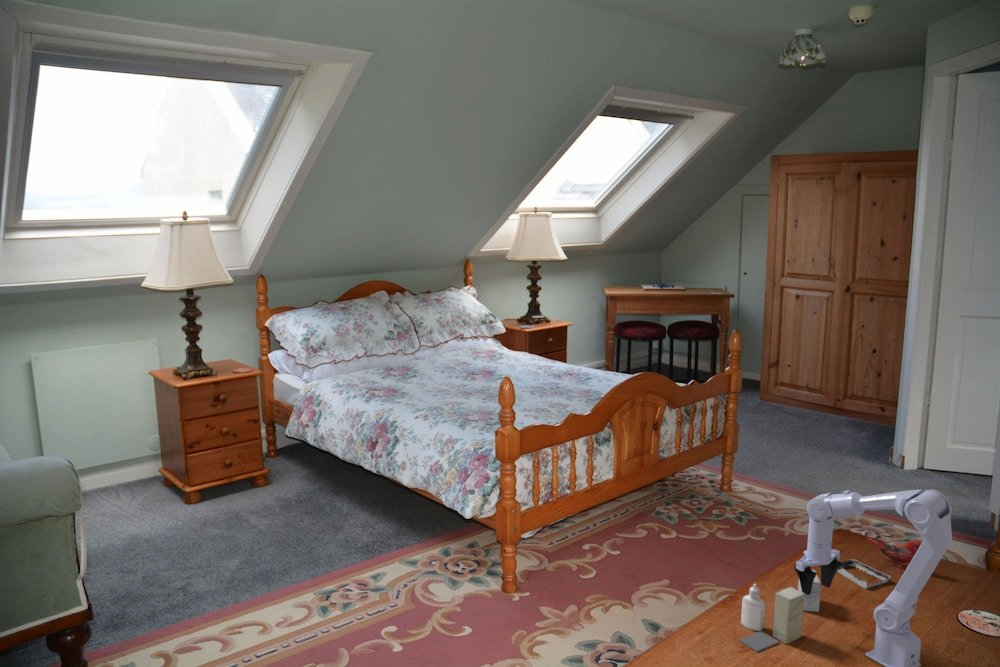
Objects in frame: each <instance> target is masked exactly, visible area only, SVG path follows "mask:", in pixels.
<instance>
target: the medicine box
mask: <svg viewBox="0 0 1000 667" xmlns="http://www.w3.org/2000/svg"><path fill="white" fill-rule="evenodd" d="M812 571H813V572H815V573H817V571H816V570H815V569H812ZM797 582H798V583H797V590H798V591H800V592H802V589H801V584H800V580H799V578H798V581H797ZM821 588H822V584H821V579H819V576H818V574H817V575H816V576H815V578H814V581H813V584H812V590H811V594H810V595H807V594H805V593H804V605H803V612H804V611H805V612H813V613H814V612H816V613H819V612H820V602H821V601H820V600H821ZM802 593H803V592H802Z"/></svg>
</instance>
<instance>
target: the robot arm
mask: <svg viewBox="0 0 1000 667" xmlns="http://www.w3.org/2000/svg"><path fill="white" fill-rule="evenodd" d="M921 491H922V492H921ZM920 492H921V493H920ZM805 507H806V508H805V509H806V513H807V515H808V516H809V518H808V519H809V520H808V530H807V532H808V533H807V545H806V550H803V556H802V557H801V558H800V559H799V560H796V562H795V564H794V565H793V566H794V571H795V572H796V574H797V577H798V579H799V580H800V584H801V589H802V592H803V593H805V594H807V595H810V594H811V590H812V584H813V581H814V578H815V576H816V575H817V576H818V573H817V572H816V573H815V572H813V571H812V570H813V569H812V567H814V566H815V567H816V566H820V583H821V586H824V587H825V588H828V589H829V588H830V587H831V585H832V583H833V580H834V577H835V576H836V573H838V572H837V570H838V569H839V568H840V567H841V562H842V561H840V560H839V559H841V558H840V556H841V551H839V550H837V549H835V548H833V549H832V544H833V535H834V534H833V533H834V519H835V518H838V519H839V518H848V517H851V518H852V517H860V516H862V515H863V514H864V512H865V511H883V510H886V511H887V510H895V511H896V513H897V514H899V516H901V517H906V519H907V520H908V521H909V522H910V523H911V525H913V527H914V528H915V529H916V530H917V531H918V533H919V534H920V535H921V536H922V538H923V540H922V542H921V545H920V547H919V549H918V550H917V552H916V554H915V555H914V557H913V559H912V561H911V562H910V563H909V564H908V565H907V567H906V568H907V569H905V571H904V573H903V574H902V576H901V577H900V579H899V581H898V582H897V584H896V586H895V587H894V589H893V590H892V592H891V593H890V594H889V595H888V596H887V598H886V599H885V601H884V602H882V603H881V604H879V605H878V606H876V607H875V609H874V610H873V620H874V621H875V623H876V626H875V634H874V643H873V644H874V645H873V649H872V650H870V651H867V652H865V656H866V657H868V658H869V659H872V660H873V661H875V662H877V663H878V664H880V665H881V666H884V667H921V665H922V664H921V663H920V658H921V649H922V641H921V638H920V637H919V636H918V635H916V634H915V633H914V632H913V631H912V630H911V624H910V619H912V618H914V616H915V614H916V604H917V602H918V599H919V595H920V594H921V592H922V590H923V589H924V588H925V586H926V584H927V582H928V581H929V579H930V577H931V576H932V575H933V573H934V571H935V570H936V568H937V566H938V564H939V563H940V561H941V559H942V558H943V556H944V554H946V551H947V550H948V548H949V547H950V546H951V543H952V540H953V534H952V520H951V517H952V511H953V509H952V506H951V505H950V502H949V501H948V499H947V497H946V496H945V494H943V493H942V491H941V492H940V491H939V490H937V489H932V488H931V489H926V490H922V489H911V490H901V491H896V492H895V491H893V492H887V493H886V492H885V493H880V494H873V495H865V496H863V495H861V494H860V493H859V492H856V491H855V492H852V491H851V489H849V490H844V491H843V492H842V493H835V494H832V492H827V493H821V494H819V495H817V496H815V497H814V498H812V499H810V500H809V501H808V502H807V504H806V506H805Z"/></svg>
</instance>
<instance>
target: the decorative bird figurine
mask: <svg viewBox="0 0 1000 667" xmlns="http://www.w3.org/2000/svg"><path fill="white" fill-rule="evenodd" d="M864 538H865V539H866V540H867V541H869V542H871V544H872V543H873V545H875V546H876V547H877V548H878V549H879V550H880V551H881V552H882V554H884V555H885V556H886V557H888V558H889V559H890V560H892V561H893V562H891V563H890V564H891V565H893V566H895V565H896V567H899V568H901V569H905V570H906V569H907V567H905V566H904V565H901V564H908V563H909V564H910V562H911V561H912V559H913V557H914V555H915V554H916V552H917V550H918V549H919V547H920V545H921V544H922V542H920V541H919V540H912V541H911V540H910V541H908V542H906V543H905V542H904V543H898V542H884V543H881V542H879V541H876V540H874V539H872V538H869V537H867V536H864ZM899 563H900V564H899Z"/></svg>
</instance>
